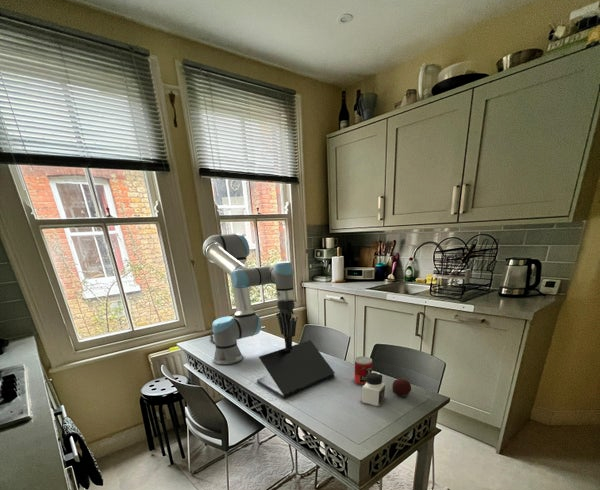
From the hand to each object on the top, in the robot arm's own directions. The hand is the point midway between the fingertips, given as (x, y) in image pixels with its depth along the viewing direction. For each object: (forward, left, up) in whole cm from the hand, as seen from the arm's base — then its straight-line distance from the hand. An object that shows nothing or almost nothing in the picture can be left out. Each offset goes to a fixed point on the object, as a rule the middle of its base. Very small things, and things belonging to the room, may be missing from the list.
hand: (289, 350), depth 146 cm
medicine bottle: (+41, +11, -14) cm, 45 cm away
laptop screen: (+6, 0, -6) cm, 9 cm away
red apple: (+46, +23, -14) cm, 53 cm away
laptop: (+4, 0, -14) cm, 15 cm away
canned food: (+27, +21, -14) cm, 37 cm away
